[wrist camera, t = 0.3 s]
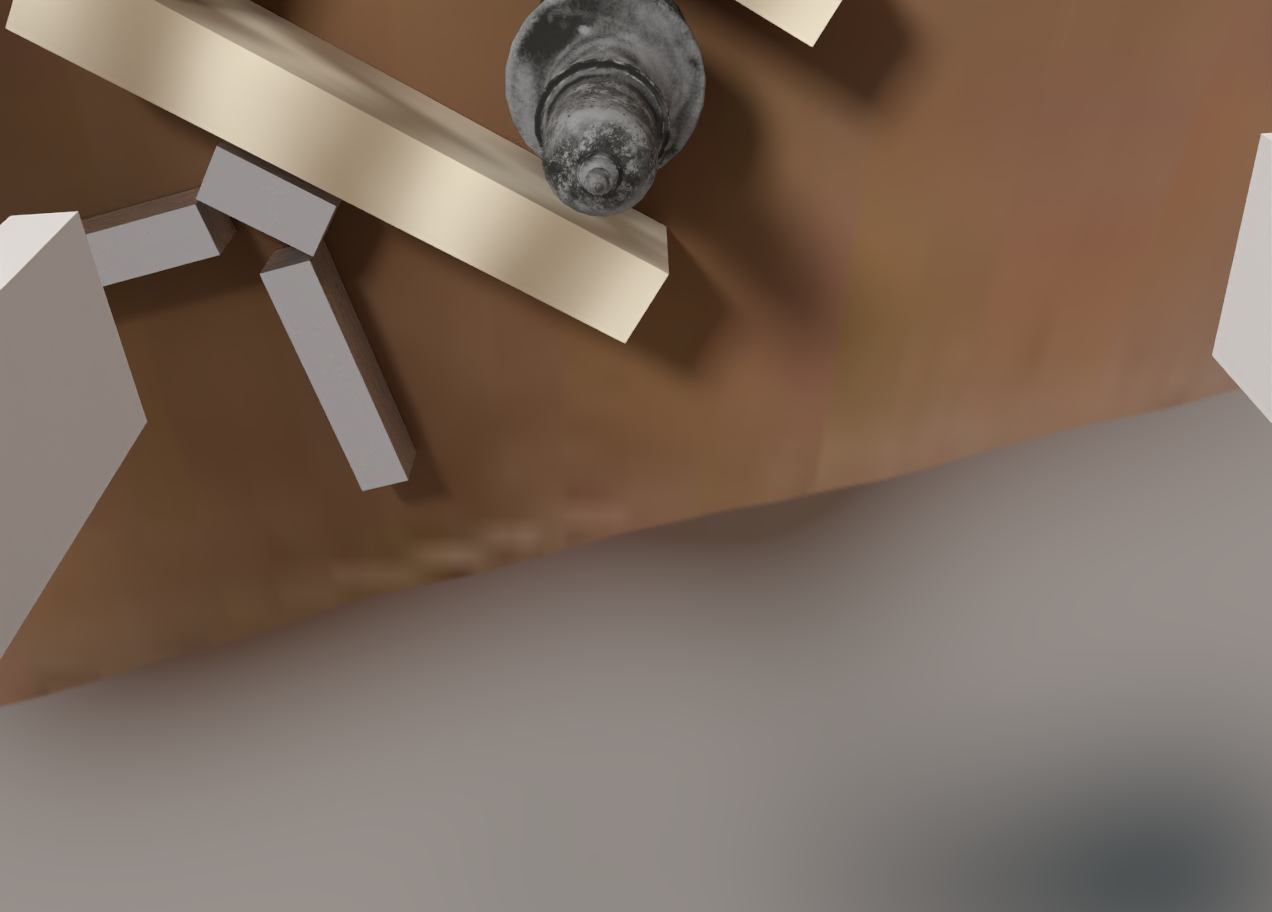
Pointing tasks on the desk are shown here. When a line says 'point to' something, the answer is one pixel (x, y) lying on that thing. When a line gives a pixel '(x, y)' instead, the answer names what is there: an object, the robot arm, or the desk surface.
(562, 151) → the grey tall rounded piece
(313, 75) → the bracket
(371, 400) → the v block
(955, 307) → the desk surface
